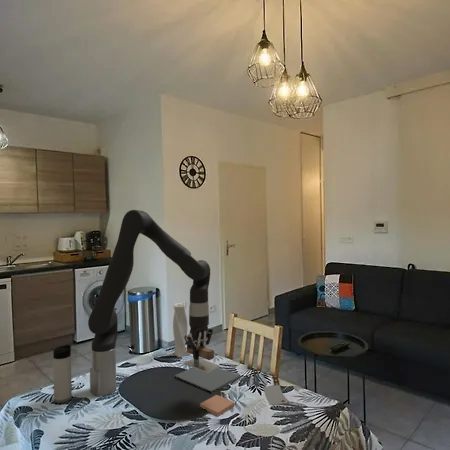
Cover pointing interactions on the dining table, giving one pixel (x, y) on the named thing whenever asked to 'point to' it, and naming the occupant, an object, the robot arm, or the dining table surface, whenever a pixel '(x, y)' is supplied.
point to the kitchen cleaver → (275, 393)
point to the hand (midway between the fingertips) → (199, 357)
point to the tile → (217, 405)
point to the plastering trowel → (201, 363)
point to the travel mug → (62, 374)
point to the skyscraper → (180, 329)
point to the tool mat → (208, 378)
